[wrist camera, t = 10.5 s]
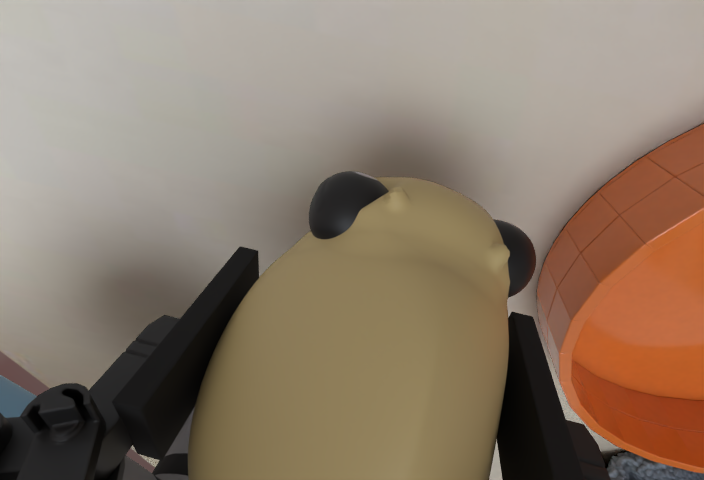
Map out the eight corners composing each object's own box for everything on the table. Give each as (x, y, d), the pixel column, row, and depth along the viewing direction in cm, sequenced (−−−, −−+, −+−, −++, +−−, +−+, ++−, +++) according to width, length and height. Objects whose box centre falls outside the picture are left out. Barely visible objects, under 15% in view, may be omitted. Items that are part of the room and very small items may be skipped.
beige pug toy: (476, 266, 18) (715, 219, 8) (400, 511, 15) (608, 939, 5) (303, 192, 17) (309, 30, 7) (193, 436, 15) (-59, 756, 4)
